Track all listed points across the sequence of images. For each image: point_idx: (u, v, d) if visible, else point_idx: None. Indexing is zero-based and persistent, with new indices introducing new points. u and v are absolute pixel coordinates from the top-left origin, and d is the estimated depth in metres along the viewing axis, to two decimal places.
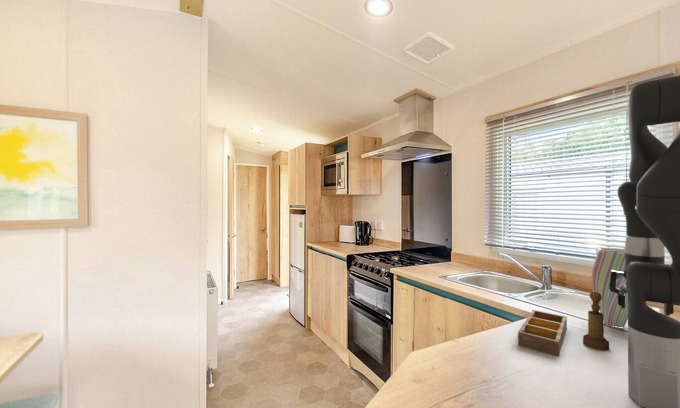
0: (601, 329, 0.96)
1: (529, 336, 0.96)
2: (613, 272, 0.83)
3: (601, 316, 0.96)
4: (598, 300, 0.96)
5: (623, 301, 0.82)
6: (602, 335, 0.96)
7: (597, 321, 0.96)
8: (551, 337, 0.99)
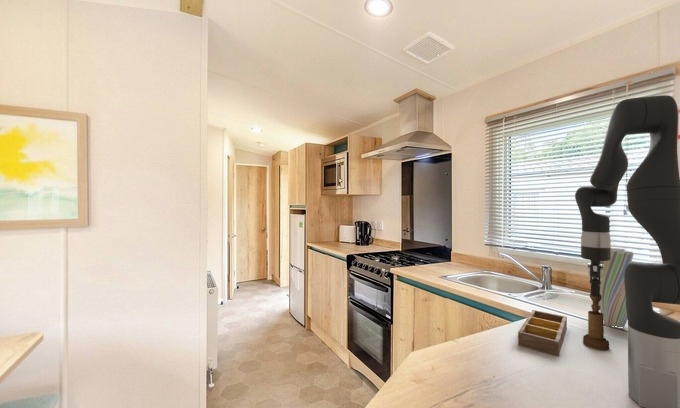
0: (601, 329, 0.96)
1: (529, 336, 0.96)
2: (600, 266, 0.92)
3: (601, 316, 0.96)
4: (598, 300, 0.96)
5: (599, 290, 0.94)
6: (602, 335, 0.96)
7: (597, 321, 0.96)
8: (551, 337, 0.99)
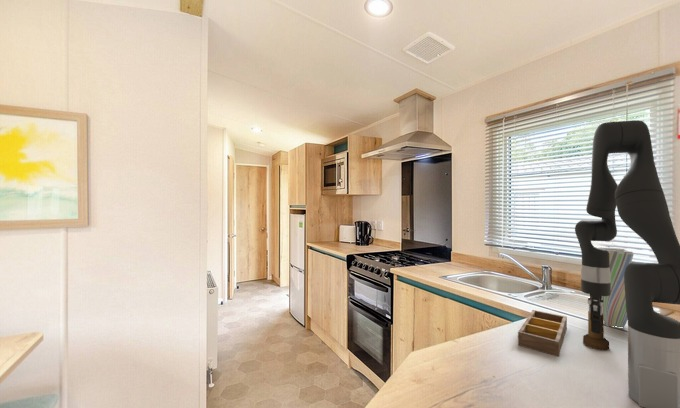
0: (601, 329, 0.96)
1: (529, 336, 0.96)
2: (600, 306, 0.92)
3: (601, 316, 0.96)
4: None
5: None
6: (602, 335, 0.96)
7: None
8: (551, 337, 0.99)
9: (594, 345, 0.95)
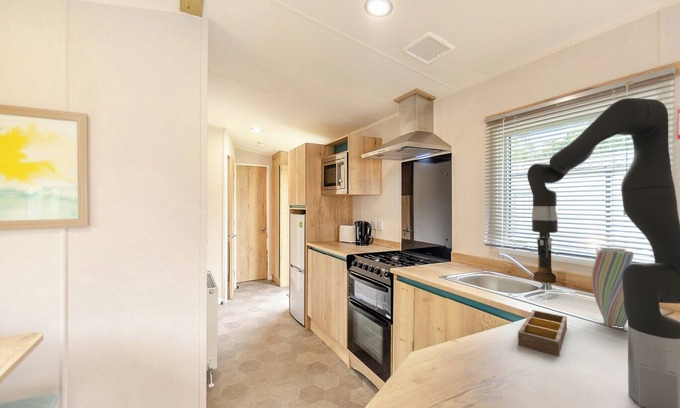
0: (549, 264, 1.03)
1: (529, 336, 0.96)
2: (546, 241, 0.99)
3: (549, 252, 1.03)
4: None
5: (547, 261, 1.02)
6: (550, 270, 1.03)
7: None
8: (551, 337, 0.99)
9: (542, 279, 1.03)
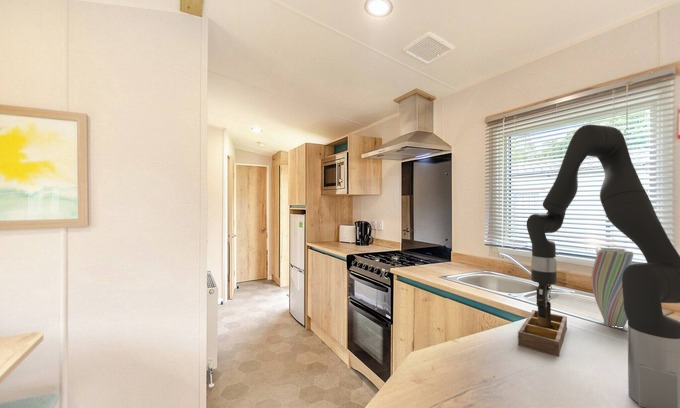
0: (548, 317, 1.03)
1: (529, 336, 0.96)
2: (545, 290, 0.99)
3: (548, 305, 1.03)
4: None
5: None
6: (549, 323, 1.03)
7: None
8: (551, 337, 0.99)
9: None
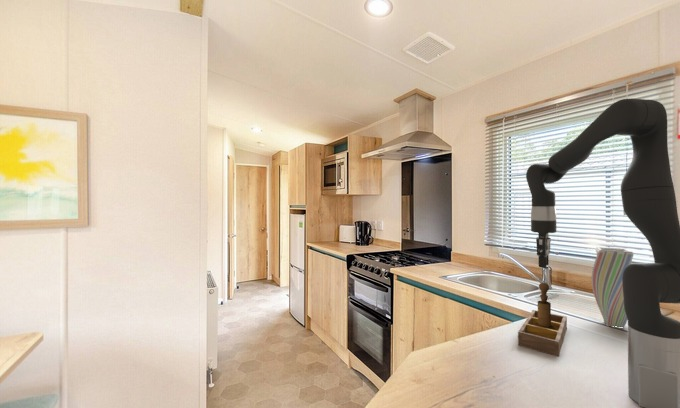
0: (548, 317, 1.03)
1: (529, 336, 0.96)
2: (545, 240, 0.99)
3: (548, 305, 1.03)
4: (546, 290, 1.03)
5: (546, 261, 1.02)
6: (549, 323, 1.03)
7: (544, 309, 1.03)
8: (551, 337, 0.99)
9: None
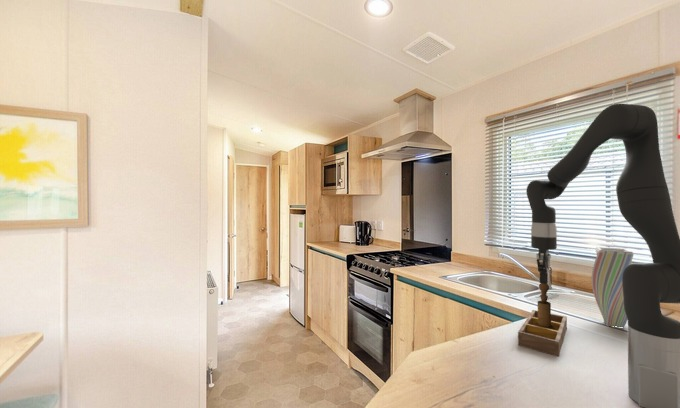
0: (548, 317, 1.03)
1: (529, 336, 0.96)
2: (545, 261, 1.00)
3: (548, 305, 1.03)
4: (546, 290, 1.03)
5: (547, 278, 1.04)
6: (549, 323, 1.03)
7: (544, 309, 1.03)
8: (551, 337, 0.99)
9: None
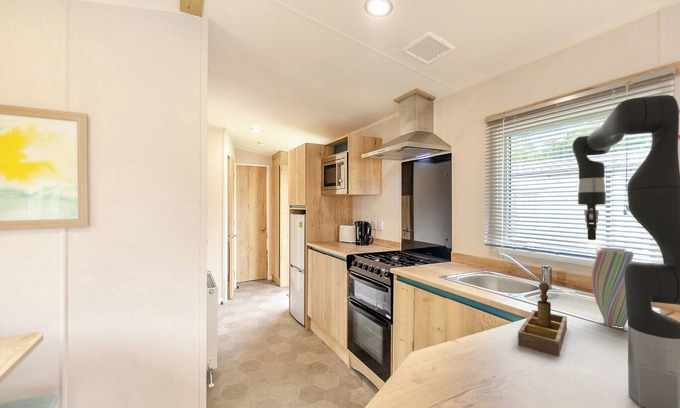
0: (548, 317, 1.03)
1: (529, 336, 0.96)
2: (595, 215, 0.99)
3: (548, 305, 1.03)
4: (546, 290, 1.03)
5: (595, 234, 1.03)
6: (549, 323, 1.03)
7: (544, 309, 1.03)
8: (551, 337, 0.99)
9: None
